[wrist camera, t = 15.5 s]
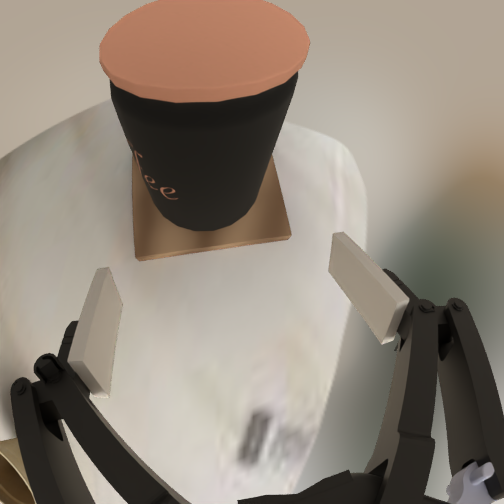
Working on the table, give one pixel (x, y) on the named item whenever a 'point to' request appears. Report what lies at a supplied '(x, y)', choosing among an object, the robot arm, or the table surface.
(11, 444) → the flower pot
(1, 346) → the table surface
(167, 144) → the coffee jar
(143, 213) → the walnut board
